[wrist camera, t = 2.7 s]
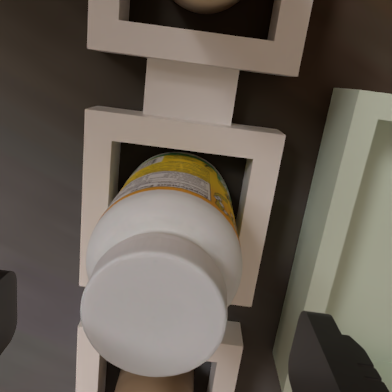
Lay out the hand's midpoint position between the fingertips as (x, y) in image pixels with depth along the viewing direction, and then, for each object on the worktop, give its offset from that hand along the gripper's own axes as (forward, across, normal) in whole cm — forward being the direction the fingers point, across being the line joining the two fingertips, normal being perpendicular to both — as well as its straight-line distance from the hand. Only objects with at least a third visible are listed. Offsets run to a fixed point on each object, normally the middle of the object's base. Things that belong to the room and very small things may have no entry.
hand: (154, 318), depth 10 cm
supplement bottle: (+9, 0, 0) cm, 9 cm away
